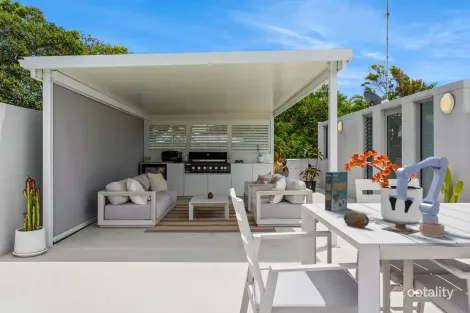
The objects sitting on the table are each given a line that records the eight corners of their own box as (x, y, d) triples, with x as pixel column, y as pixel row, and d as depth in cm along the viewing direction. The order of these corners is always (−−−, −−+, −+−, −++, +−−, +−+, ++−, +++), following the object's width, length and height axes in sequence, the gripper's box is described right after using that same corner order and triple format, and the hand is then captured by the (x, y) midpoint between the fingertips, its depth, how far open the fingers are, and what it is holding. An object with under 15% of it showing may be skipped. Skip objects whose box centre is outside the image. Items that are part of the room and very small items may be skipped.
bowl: (426, 231, 189) (426, 221, 189) (447, 235, 180) (447, 224, 180) (416, 233, 183) (416, 223, 183) (437, 238, 174) (437, 227, 174)
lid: (396, 226, 200) (396, 220, 200) (417, 230, 189) (417, 224, 189) (383, 228, 193) (383, 222, 193) (405, 233, 182) (405, 226, 182)
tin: (343, 224, 204) (343, 211, 204) (345, 223, 206) (346, 210, 206) (367, 228, 193) (367, 214, 193) (369, 228, 196) (369, 214, 196)
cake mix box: (340, 207, 271) (341, 171, 271) (346, 208, 267) (347, 171, 266) (324, 209, 257) (325, 172, 257) (331, 210, 253) (332, 172, 252)
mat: (395, 226, 201) (395, 225, 201) (420, 231, 189) (420, 230, 189) (381, 229, 193) (381, 228, 193) (406, 234, 180) (406, 233, 180)
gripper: (386, 186, 193) (384, 209, 193) (410, 189, 181) (408, 213, 181) (392, 187, 197) (390, 209, 197) (417, 190, 185) (414, 213, 185)
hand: (399, 211), depth 190 cm, fingers open, 7 cm apart
